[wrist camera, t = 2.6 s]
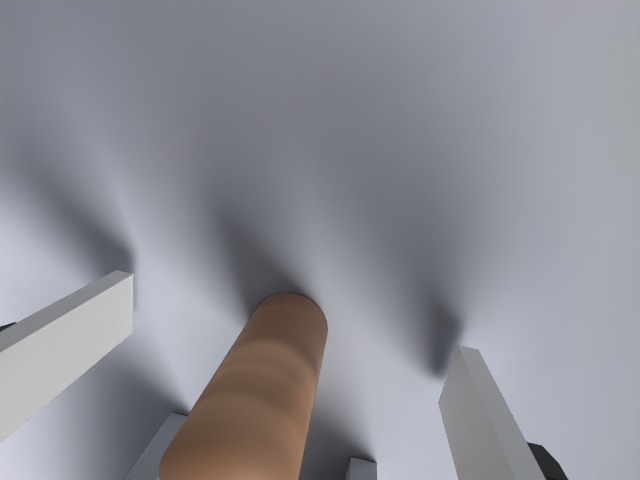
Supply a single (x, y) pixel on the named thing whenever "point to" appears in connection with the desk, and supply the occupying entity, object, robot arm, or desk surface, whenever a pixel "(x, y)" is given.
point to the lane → (147, 466)
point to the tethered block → (255, 400)
